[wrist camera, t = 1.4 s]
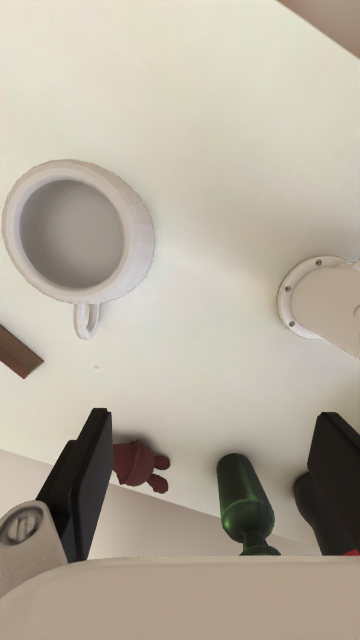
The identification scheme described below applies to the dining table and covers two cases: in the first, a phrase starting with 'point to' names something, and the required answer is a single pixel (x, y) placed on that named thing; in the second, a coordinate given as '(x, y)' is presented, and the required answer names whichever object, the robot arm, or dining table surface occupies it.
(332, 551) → the cola bottle
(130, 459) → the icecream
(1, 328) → the corner stop
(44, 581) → the robot arm
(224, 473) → the potion bottle
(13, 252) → the mug
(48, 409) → the dining table surface
